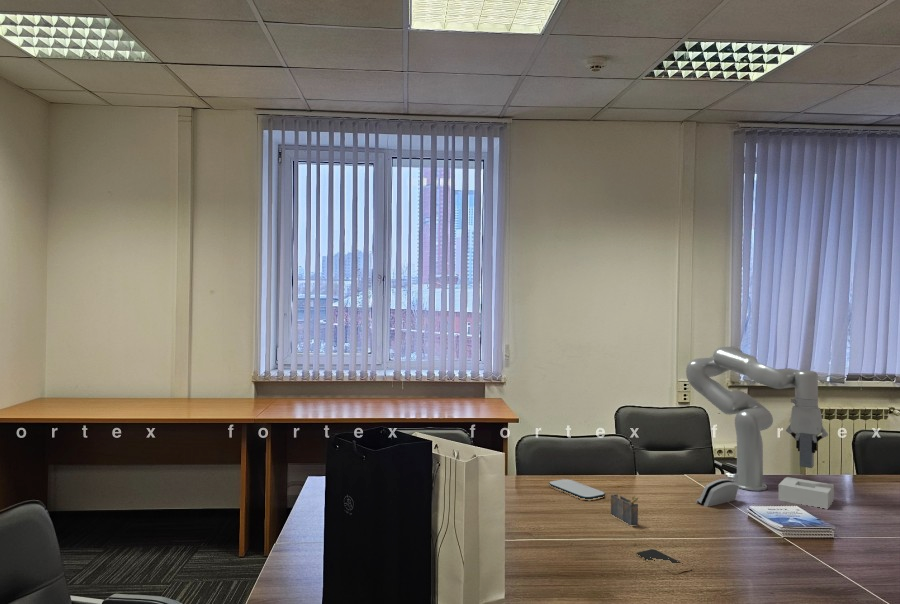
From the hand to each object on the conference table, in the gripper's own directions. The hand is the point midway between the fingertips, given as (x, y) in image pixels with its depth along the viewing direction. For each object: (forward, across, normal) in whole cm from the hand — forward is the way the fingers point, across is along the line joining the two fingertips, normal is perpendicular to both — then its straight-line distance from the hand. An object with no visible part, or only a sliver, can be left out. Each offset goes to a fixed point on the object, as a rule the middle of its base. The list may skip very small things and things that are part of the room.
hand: (806, 451), depth 229 cm
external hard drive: (+19, -71, -48) cm, 88 cm away
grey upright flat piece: (+19, -43, -67) cm, 82 cm away
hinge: (+19, -25, -25) cm, 40 cm away
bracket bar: (+6, 0, 0) cm, 6 cm away
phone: (+19, -20, -92) cm, 96 cm away
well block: (+19, 0, 0) cm, 19 cm away
